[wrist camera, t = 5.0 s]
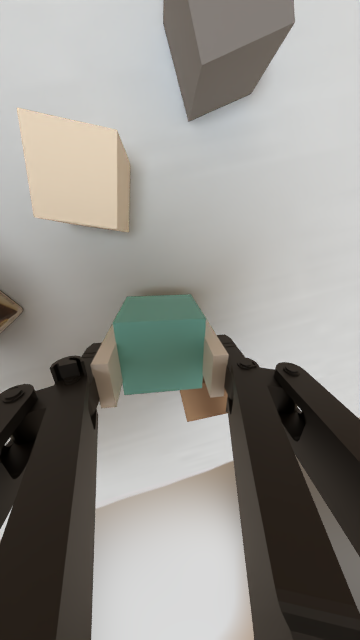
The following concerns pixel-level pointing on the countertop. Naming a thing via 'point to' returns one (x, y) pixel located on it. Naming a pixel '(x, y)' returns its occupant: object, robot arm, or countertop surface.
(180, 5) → the charcoal cube
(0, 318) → the coffee box
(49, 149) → the cream cube
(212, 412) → the walnut cube
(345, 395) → the countertop surface
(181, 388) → the teal cube
